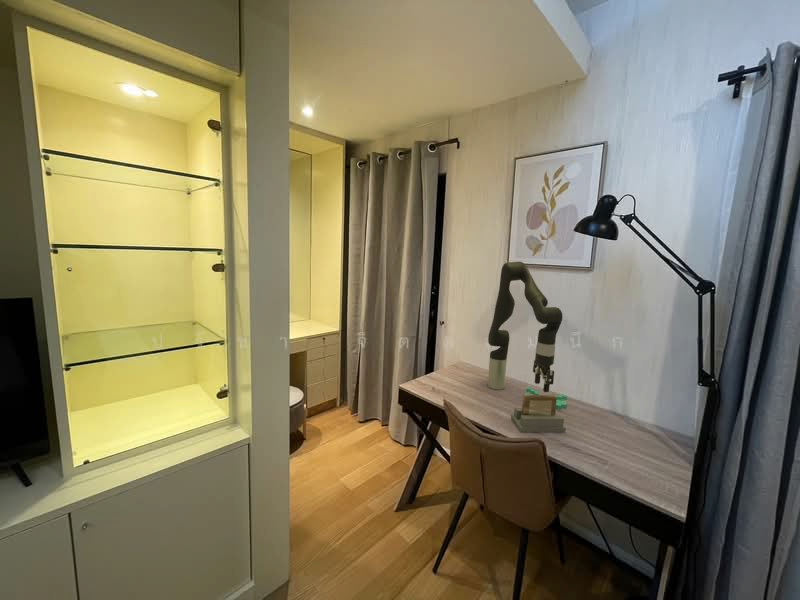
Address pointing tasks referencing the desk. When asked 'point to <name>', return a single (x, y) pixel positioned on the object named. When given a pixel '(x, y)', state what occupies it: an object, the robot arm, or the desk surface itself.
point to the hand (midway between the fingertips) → (541, 387)
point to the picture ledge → (537, 422)
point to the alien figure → (558, 403)
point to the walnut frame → (539, 405)
